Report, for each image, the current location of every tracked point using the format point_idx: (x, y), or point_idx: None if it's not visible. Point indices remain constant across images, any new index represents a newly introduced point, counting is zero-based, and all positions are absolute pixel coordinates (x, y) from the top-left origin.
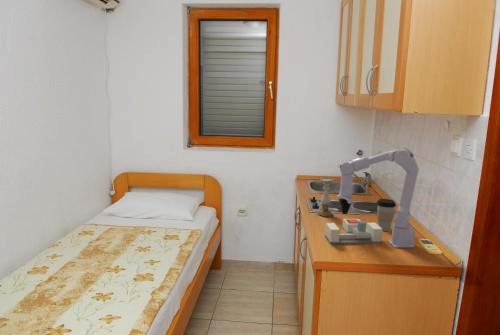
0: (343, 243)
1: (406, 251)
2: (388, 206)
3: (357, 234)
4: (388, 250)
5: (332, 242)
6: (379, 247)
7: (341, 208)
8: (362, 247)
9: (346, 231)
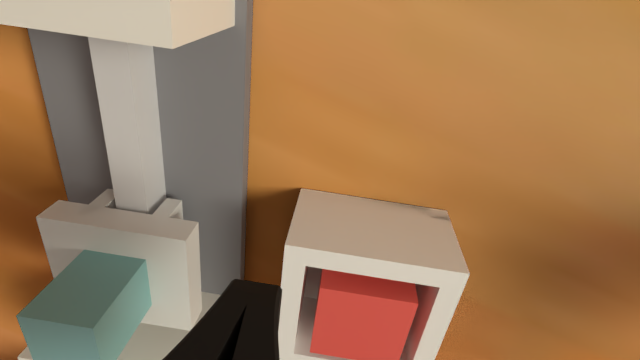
0: (38, 40)
1: (13, 353)
2: None
3: (48, 209)
4: (3, 288)
5: None
6: (41, 267)
7: (267, 353)
8: (15, 167)
9: (326, 199)
